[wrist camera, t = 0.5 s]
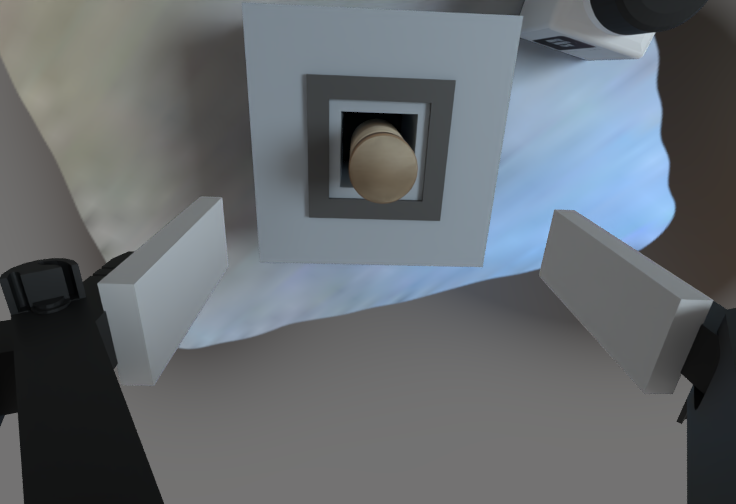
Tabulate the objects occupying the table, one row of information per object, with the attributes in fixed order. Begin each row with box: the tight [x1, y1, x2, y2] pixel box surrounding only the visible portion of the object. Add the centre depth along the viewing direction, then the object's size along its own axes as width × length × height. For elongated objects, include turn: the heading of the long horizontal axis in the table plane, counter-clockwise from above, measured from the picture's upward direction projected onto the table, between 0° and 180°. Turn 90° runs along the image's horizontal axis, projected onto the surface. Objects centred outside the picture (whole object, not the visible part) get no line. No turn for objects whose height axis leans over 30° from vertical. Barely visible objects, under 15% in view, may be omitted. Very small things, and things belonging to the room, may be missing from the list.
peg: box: [349, 119, 418, 204], centre depth 29 cm, size 4×4×9 cm
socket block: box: [242, 2, 523, 267], centre depth 35 cm, size 18×18×10 cm
